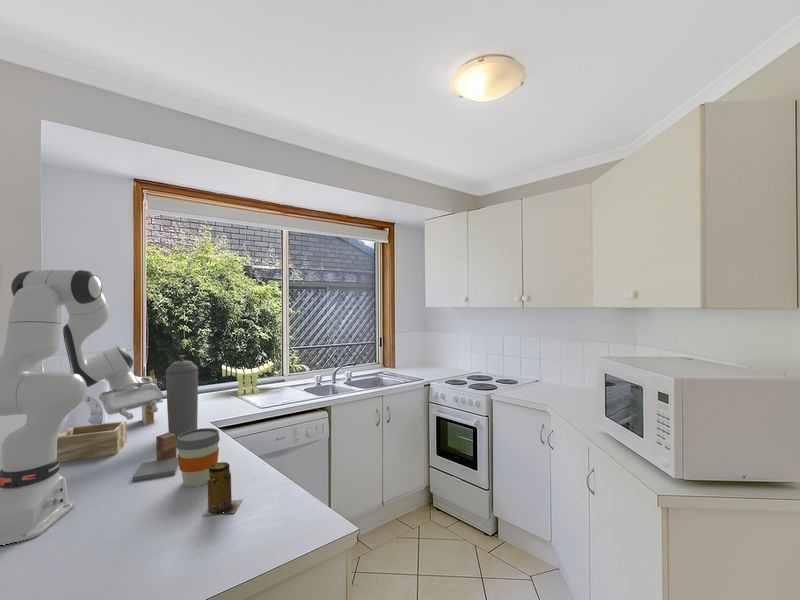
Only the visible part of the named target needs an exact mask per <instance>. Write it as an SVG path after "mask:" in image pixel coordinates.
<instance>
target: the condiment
mask: <svg viewBox="0 0 800 600" xmlns="http://www.w3.org/2000/svg"><path fill="white" fill-rule="evenodd" d="M207 481H208V483H207V508H206V510H205V511H204V512H203V513H202V516H215V515H216V516H217V515H226V514H227V515H228V514H235V513H236V511H237V510H238V509H239V507H240V506H241V503H242V502H243V499H234V500H232V498H233V497H232V473H231V469H230V463H228V462H226V461H225V462H223V461H221V462H217V463H215V464H213V465H211V466H210V467H209V476H208V480H207ZM223 512H224V513H223Z"/></svg>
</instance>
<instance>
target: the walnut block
mask: <svg viewBox="0 0 800 600" xmlns="http://www.w3.org/2000/svg"><path fill="white" fill-rule="evenodd" d="M176 445H177V438H176V434H173V433H169V432H166V433H163V434H159V435H157V436H155V446H156V447H155V449H156V450H155V451H156V453H155V454H156V458H155V459H156V461H157V460H164V459H171V458H177V447H176Z"/></svg>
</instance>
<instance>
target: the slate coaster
mask: <svg viewBox="0 0 800 600" xmlns="http://www.w3.org/2000/svg"><path fill="white" fill-rule="evenodd" d="M178 468H179V463H178V457H177V456H176V458H171V459H164V460H157V459H156V460H152V461H145V462H141V463H140V464H139V466H138V468H137V469H136V471H135V473H134V474H133V476H132V482H138V481H144V480H150V479H156V478H163V477H169V476H174V475H176V473H177V471H178Z"/></svg>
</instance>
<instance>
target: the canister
mask: <svg viewBox="0 0 800 600" xmlns="http://www.w3.org/2000/svg"><path fill="white" fill-rule="evenodd" d="M184 357H186V356H185V354H183V355H182V354H181V355H178V358H179V360H177V361H174V362H172V363H171V364H170V365H169V366H168V367H167V369H165V385H166V405H167V406H166V407H167V427H168V433H173V434H176V439H177V437H178V436H179V435H180V434H182V433H185V432H187V431H191V430H195V429H198V415H199V414H198V409H199V407H198V406H199V404H198V402H199V399H198V398H199V368H198V366H197V365H196V364H195V363H194V362H193V361H191V360H185V359H184Z"/></svg>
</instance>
